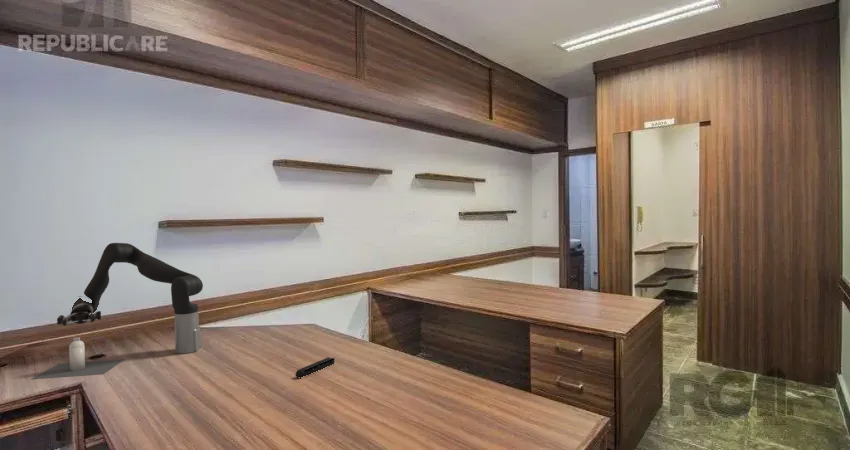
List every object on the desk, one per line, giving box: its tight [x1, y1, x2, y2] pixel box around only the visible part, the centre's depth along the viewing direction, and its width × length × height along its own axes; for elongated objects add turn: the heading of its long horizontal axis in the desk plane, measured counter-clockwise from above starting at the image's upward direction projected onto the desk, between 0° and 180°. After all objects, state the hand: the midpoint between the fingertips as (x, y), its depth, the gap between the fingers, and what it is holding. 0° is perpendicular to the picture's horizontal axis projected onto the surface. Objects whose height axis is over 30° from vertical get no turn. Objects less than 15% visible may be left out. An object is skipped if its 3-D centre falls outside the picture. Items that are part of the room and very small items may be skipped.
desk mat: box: [29, 358, 126, 380], centre depth 162 cm, size 24×16×1 cm, turn 101°
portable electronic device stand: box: [295, 356, 336, 379], centre depth 161 cm, size 18×3×3 cm, turn 147°
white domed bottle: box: [68, 337, 86, 371], centre depth 161 cm, size 5×5×12 cm
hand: (78, 321), depth 170 cm, fingers open, 8 cm apart
